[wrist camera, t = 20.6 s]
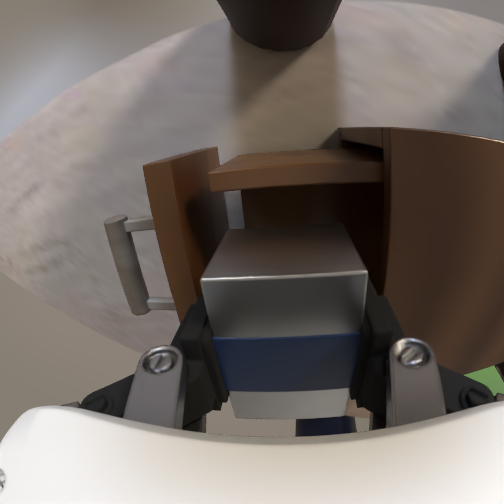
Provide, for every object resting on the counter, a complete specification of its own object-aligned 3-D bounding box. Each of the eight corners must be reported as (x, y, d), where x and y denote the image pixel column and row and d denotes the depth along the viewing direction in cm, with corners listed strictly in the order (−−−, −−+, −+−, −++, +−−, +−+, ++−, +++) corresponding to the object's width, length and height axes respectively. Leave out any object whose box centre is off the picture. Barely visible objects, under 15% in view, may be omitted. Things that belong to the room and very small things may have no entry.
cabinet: (339, 297, 21) (362, 395, 13) (337, 127, 16) (389, 126, 8) (484, 282, 19) (539, 347, 10) (502, 142, 14) (587, 166, 5)
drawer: (169, 302, 22) (128, 370, 15) (136, 160, 18) (61, 185, 11) (398, 292, 20) (435, 364, 13) (408, 138, 15) (478, 150, 8)
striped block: (337, 351, 12) (346, 417, 8) (246, 354, 12) (233, 420, 9) (344, 221, 9) (372, 271, 6) (225, 228, 10) (195, 279, 7)
